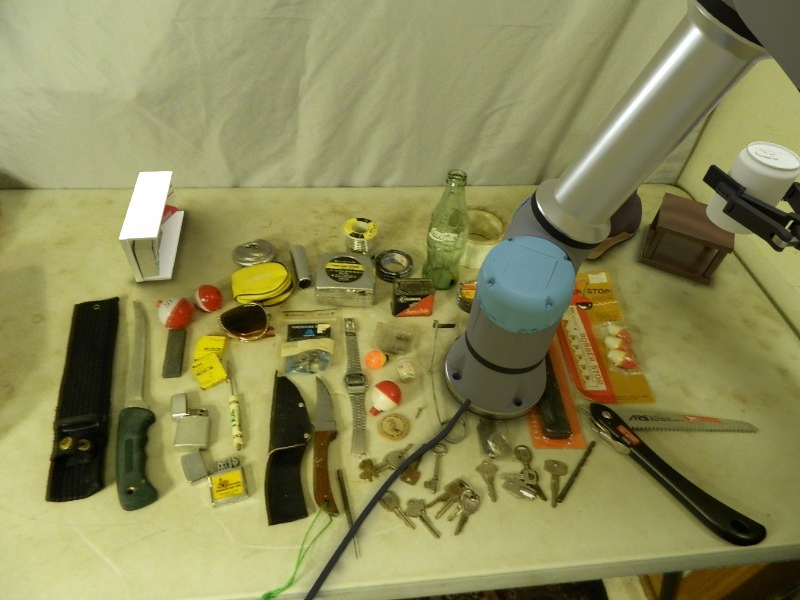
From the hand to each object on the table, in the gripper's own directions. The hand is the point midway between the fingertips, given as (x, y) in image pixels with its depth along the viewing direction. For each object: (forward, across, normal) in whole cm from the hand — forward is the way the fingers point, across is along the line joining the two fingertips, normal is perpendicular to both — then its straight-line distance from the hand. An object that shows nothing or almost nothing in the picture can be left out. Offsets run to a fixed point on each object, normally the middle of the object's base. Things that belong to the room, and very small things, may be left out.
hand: (730, 169), depth 82 cm
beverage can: (-5, 0, -7) cm, 8 cm away
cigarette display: (+33, -88, -24) cm, 97 cm away
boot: (+14, -3, -24) cm, 28 cm away
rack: (+5, +7, -24) cm, 26 cm away
